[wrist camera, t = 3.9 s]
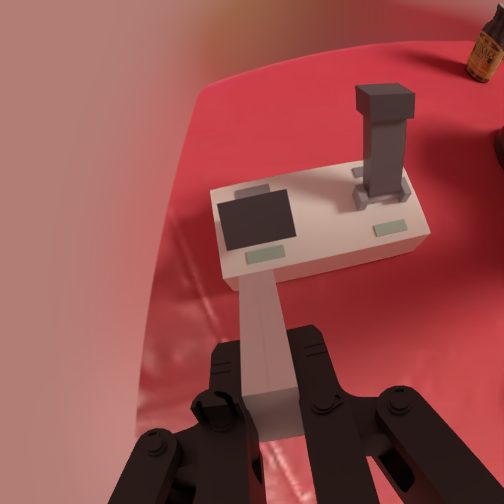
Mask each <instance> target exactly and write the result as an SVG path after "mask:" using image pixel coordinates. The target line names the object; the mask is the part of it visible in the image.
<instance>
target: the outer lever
mask: <svg viewBox="0 0 504 504" xmlns="http://www.w3.org/2000/svg"><path fill="white" fill-rule="evenodd" d="M217 208H218V213H219V217H220V222H221V227H222V231H223V236H224V240H225V245H226V249H227V251H231V250H235V249H240V248H245V247H249V246H254V245H259V244H263V243H268V242H273V241H278V240H282V239H287V238H292V237H297V235H296V231H295V226H294V221H293V216H292V212H291V207H290V202H289V198H288V193H287V189H283V190H278V191H273V192H268V193H264V194H259V195H254V196H250V197H245V198H241V199H236V200H232V201H227V202H223V203H218V204H217Z"/></svg>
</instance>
